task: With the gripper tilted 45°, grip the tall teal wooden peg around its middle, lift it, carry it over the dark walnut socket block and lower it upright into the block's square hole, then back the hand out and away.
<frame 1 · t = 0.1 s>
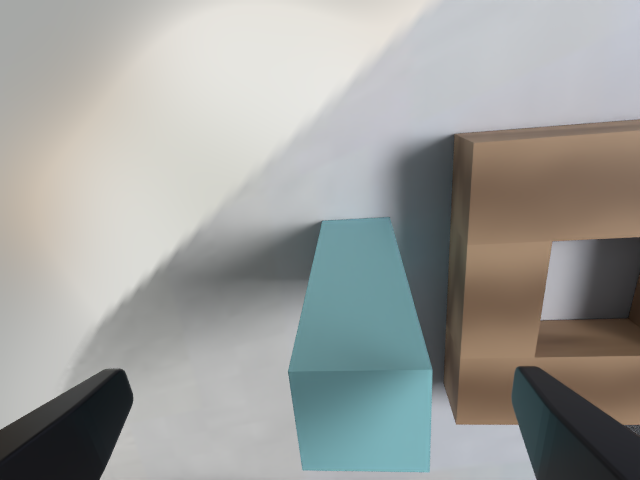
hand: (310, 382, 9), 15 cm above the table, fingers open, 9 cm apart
teal peg: (357, 249, 23), on the table
walnut socket block: (577, 270, 23), on the table
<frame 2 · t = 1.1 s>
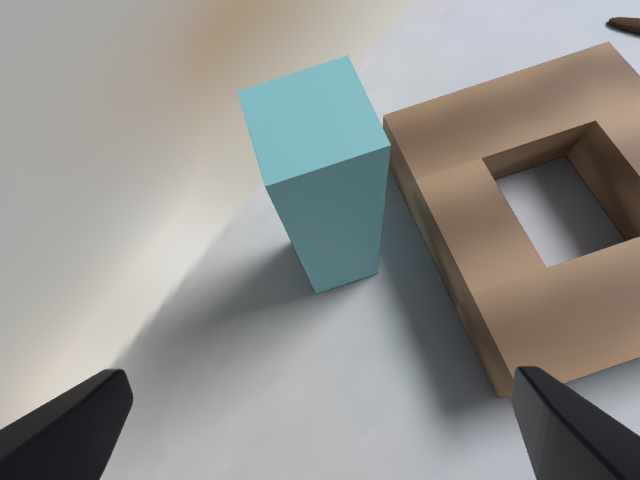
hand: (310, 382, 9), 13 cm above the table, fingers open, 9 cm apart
teal peg: (336, 255, 24), on the table
walnut socket block: (544, 217, 24), on the table
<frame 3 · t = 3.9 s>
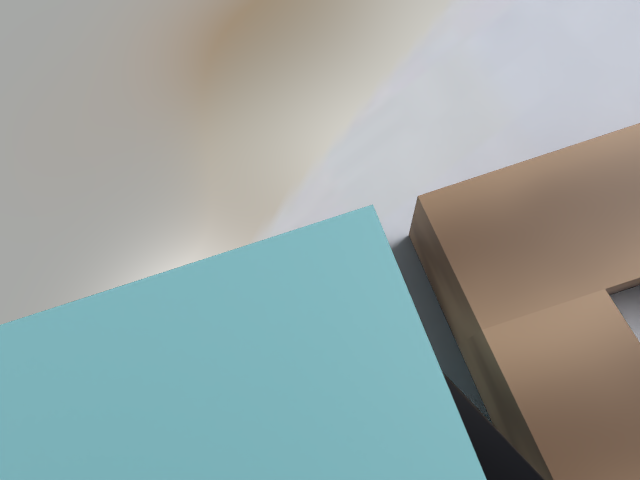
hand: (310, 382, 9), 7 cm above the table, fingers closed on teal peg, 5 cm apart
teal peg: (335, 430, 14), on the table, touching gripper
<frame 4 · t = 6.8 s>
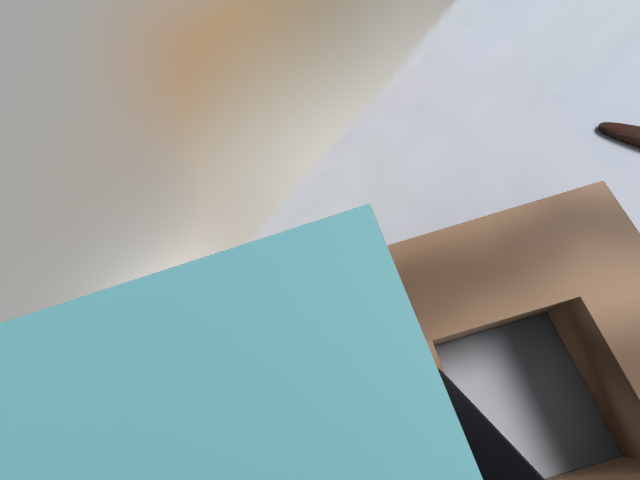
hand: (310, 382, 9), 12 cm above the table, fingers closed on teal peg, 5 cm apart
teal peg: (335, 430, 14), point 6 cm above the table, touching gripper
walnut socket block: (515, 398, 19), on the table
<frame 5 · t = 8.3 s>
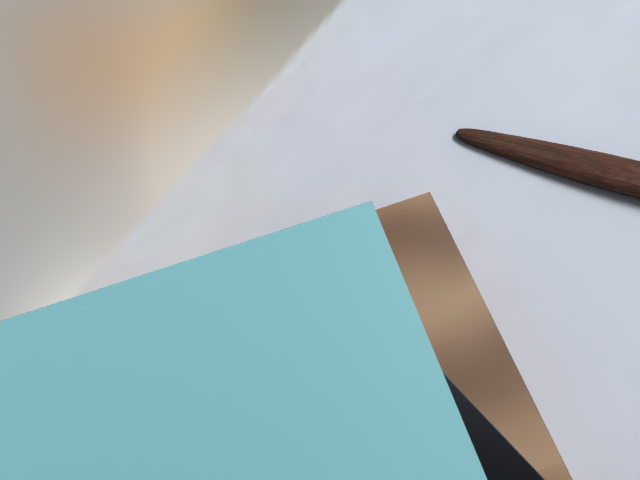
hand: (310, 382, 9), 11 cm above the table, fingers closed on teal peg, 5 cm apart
teal peg: (335, 429, 14), point 5 cm above the table, touching gripper
walnut socket block: (344, 419, 18), on the table
when the fingers open (7 cm above the table, at t = 9.7 s): teal peg stays where it is, resting in walnut socket block.
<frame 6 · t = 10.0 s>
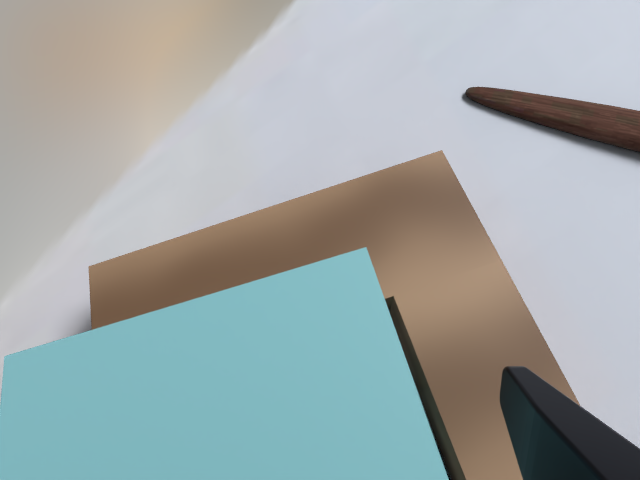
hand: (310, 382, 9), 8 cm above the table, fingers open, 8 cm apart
teal peg: (338, 430, 15), resting in walnut socket block
walnut socket block: (337, 427, 15), on the table
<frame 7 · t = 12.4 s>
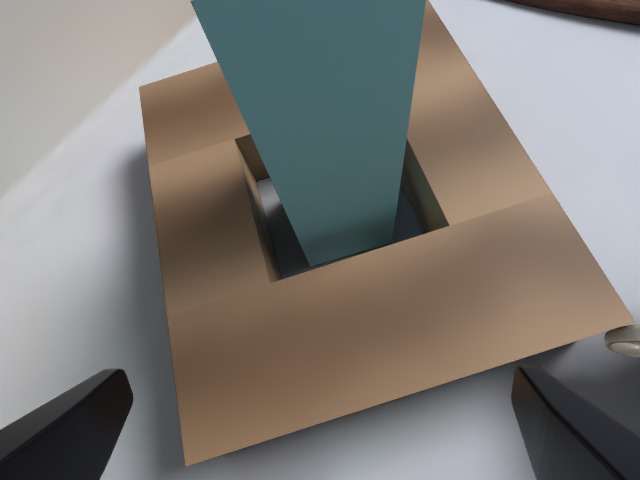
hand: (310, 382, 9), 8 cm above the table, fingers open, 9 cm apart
teal peg: (339, 218, 19), resting in walnut socket block
walnut socket block: (338, 216, 19), on the table
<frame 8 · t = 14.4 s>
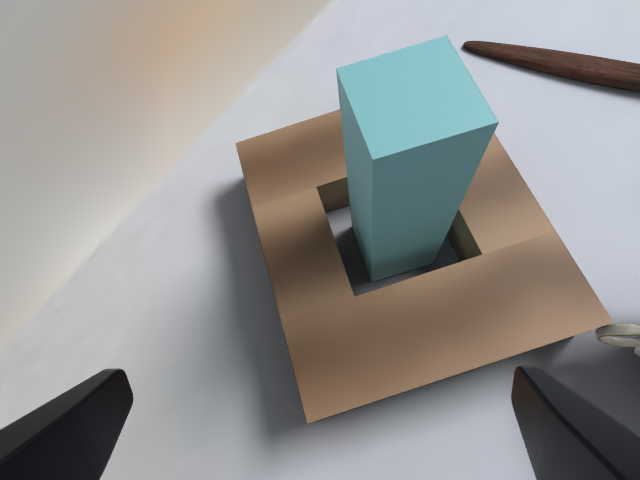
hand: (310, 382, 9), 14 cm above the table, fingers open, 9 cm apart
teal peg: (391, 244, 24), resting in walnut socket block
walnut socket block: (390, 242, 24), on the table
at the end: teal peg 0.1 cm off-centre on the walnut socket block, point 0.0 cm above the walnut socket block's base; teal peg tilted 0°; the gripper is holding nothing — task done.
